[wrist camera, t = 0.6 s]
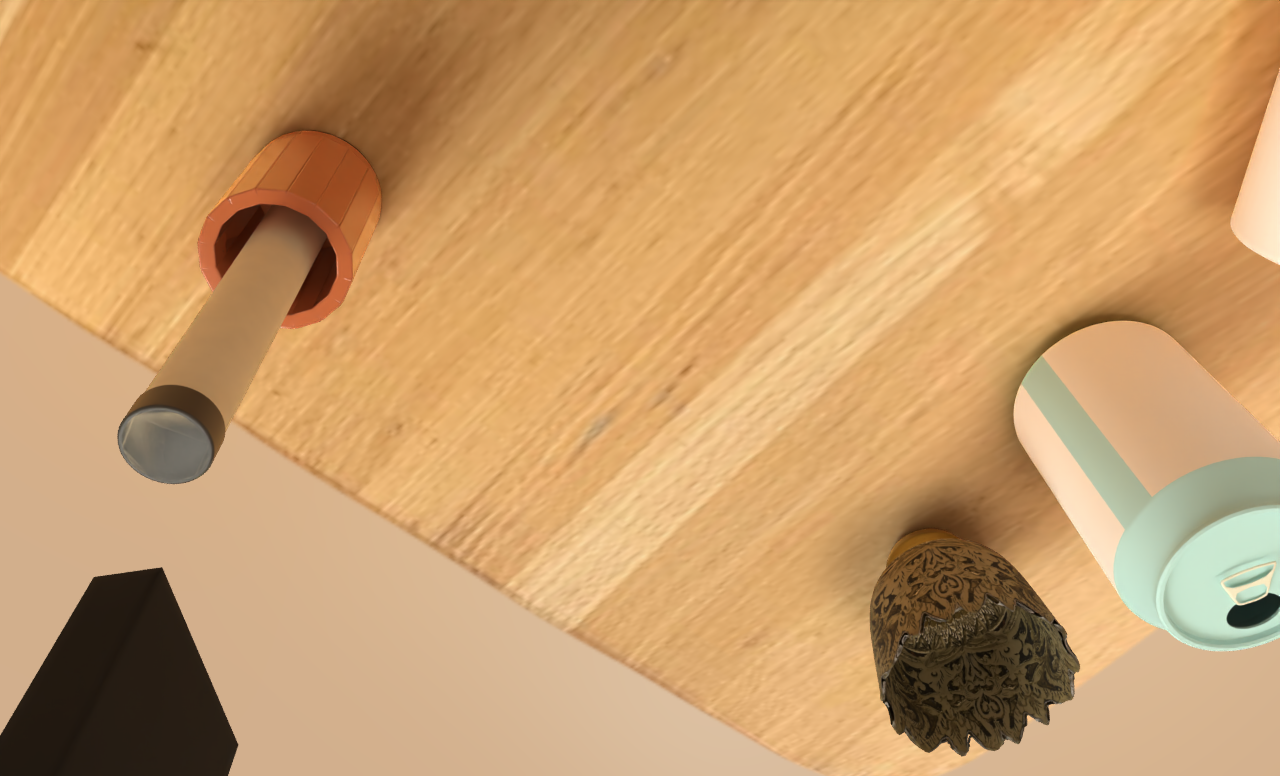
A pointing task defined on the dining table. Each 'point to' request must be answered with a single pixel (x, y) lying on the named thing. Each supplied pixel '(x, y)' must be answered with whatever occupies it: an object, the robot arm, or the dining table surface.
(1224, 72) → the dining table surface
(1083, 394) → the can
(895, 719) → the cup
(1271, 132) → the mug
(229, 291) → the marker
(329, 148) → the pen pot
